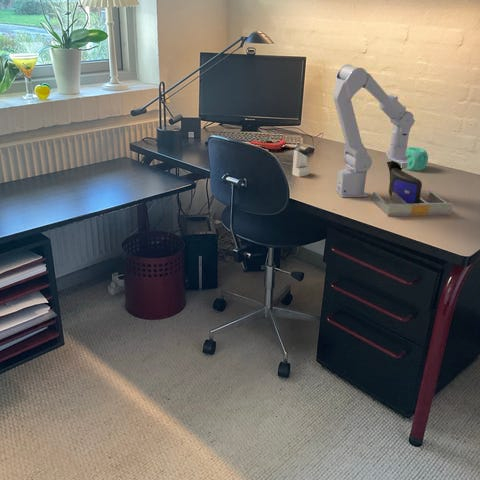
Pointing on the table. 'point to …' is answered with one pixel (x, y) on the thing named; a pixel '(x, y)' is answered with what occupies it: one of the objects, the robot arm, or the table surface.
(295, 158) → the white wedge bracket
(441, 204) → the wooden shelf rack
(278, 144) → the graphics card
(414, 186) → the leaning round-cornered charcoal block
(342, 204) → the table surface
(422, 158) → the decorative dice
